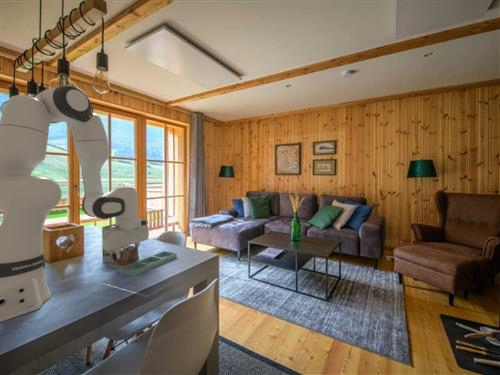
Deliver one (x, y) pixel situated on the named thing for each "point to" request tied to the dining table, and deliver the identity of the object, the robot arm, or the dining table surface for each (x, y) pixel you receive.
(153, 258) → the tray middle
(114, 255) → the coffee box
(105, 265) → the dining table surface
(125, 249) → the letter cube
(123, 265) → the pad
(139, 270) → the tray near
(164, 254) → the tray far
